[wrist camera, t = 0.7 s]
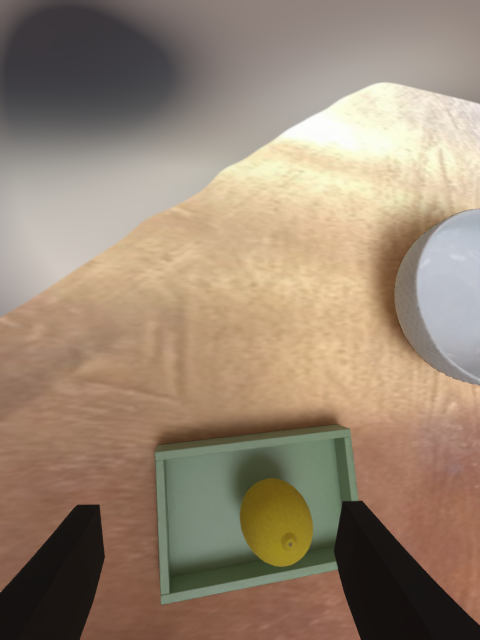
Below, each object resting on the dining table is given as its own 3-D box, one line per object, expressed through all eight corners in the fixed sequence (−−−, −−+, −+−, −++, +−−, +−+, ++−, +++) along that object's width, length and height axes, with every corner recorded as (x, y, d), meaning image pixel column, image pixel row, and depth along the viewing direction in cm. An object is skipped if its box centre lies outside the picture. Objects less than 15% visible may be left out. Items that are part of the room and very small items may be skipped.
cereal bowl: (397, 402, 34) (452, 411, 27) (352, 251, 35) (392, 223, 29) (526, 361, 37) (603, 360, 30) (478, 225, 39) (542, 194, 32)
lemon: (282, 458, 31) (316, 489, 23) (299, 519, 30) (339, 571, 22) (226, 478, 30) (241, 517, 22) (242, 541, 29) (263, 604, 21)
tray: (351, 548, 31) (366, 564, 28) (163, 583, 28) (161, 605, 25) (337, 424, 32) (350, 428, 30) (157, 445, 29) (154, 452, 27)
